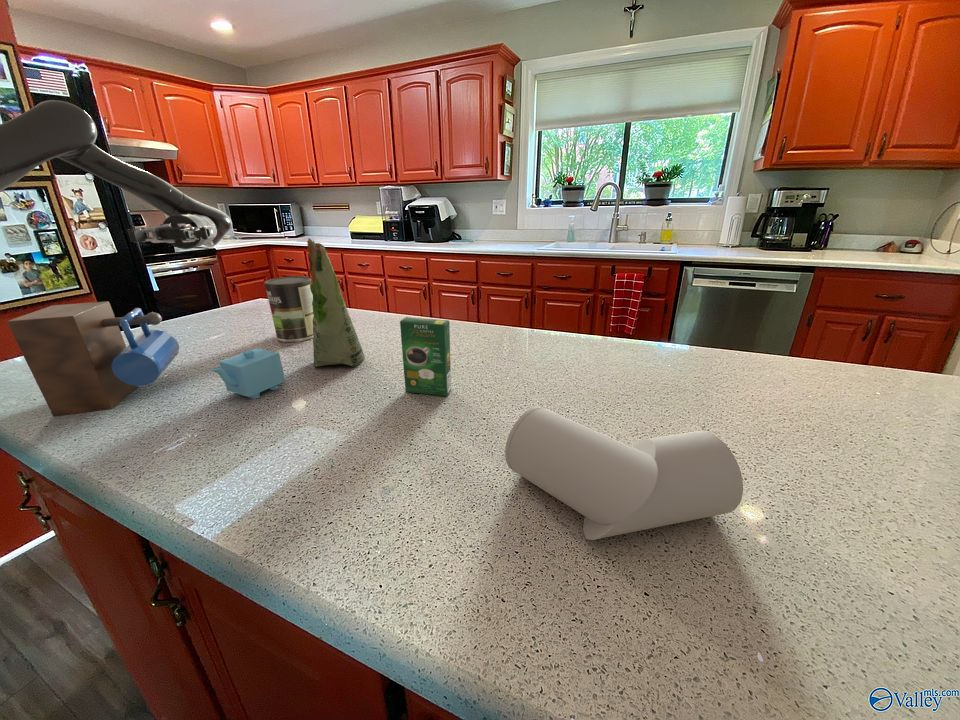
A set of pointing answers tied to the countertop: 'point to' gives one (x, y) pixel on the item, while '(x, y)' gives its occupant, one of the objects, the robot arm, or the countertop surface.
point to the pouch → (330, 314)
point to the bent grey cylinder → (624, 473)
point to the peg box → (75, 354)
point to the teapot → (251, 372)
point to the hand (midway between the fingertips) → (158, 236)
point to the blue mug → (143, 353)
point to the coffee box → (426, 355)
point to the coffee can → (291, 307)
